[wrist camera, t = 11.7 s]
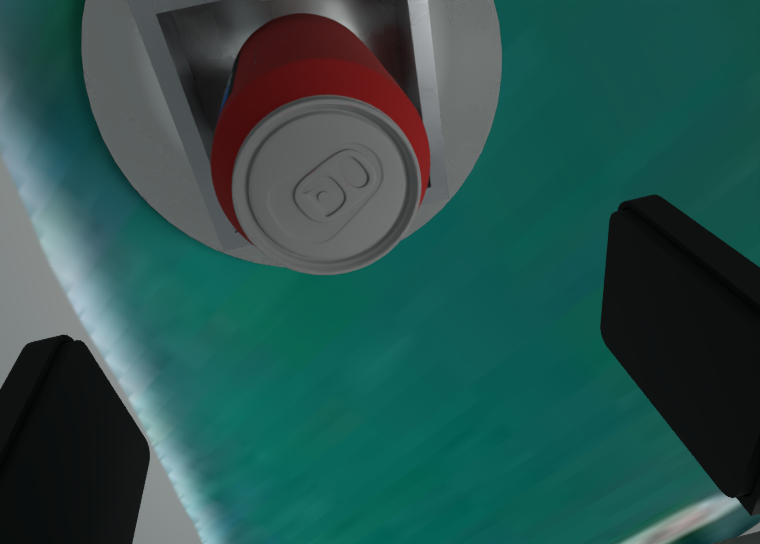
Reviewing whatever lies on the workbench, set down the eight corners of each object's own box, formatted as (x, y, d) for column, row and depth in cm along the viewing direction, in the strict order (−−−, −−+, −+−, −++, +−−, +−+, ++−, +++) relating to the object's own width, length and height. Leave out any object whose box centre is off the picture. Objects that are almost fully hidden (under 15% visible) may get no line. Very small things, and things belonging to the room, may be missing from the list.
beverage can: (197, 78, 24) (148, 184, 14) (313, -27, 23) (347, 9, 13) (299, 185, 28) (316, 330, 18) (405, 99, 26) (488, 204, 16)
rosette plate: (-1, -111, 21) (-55, -119, 17) (480, -204, 22) (521, -229, 18) (181, 290, 31) (171, 336, 28) (501, 214, 32) (530, 249, 29)
